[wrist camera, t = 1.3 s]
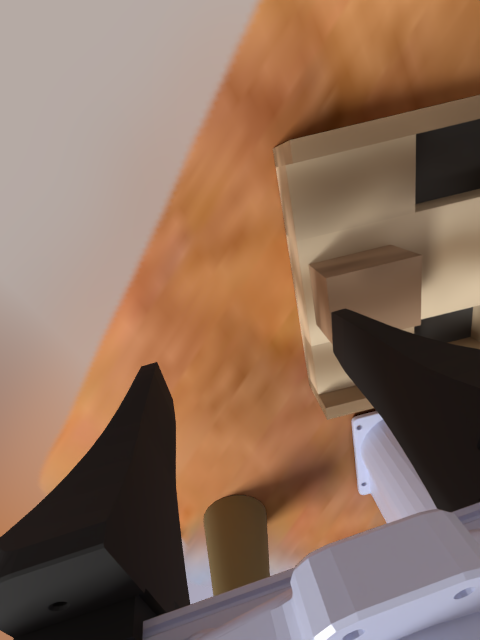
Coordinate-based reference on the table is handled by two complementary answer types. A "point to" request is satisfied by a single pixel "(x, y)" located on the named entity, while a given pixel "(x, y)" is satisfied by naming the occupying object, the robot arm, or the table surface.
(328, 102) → the table surface
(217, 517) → the cork
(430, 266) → the board
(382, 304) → the walnut block
